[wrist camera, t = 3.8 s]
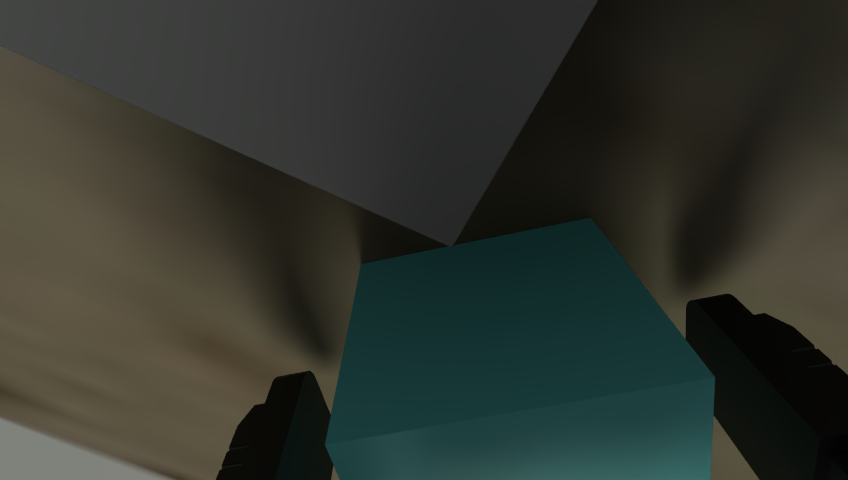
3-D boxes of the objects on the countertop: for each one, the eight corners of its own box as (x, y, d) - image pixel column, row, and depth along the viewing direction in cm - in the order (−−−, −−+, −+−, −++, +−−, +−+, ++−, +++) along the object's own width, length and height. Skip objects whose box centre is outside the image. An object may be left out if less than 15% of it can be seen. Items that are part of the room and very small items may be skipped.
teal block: (361, 261, 11) (324, 445, 7) (590, 215, 11) (715, 377, 6) (412, 424, 13) (410, 645, 9) (604, 391, 13) (704, 605, 8)
